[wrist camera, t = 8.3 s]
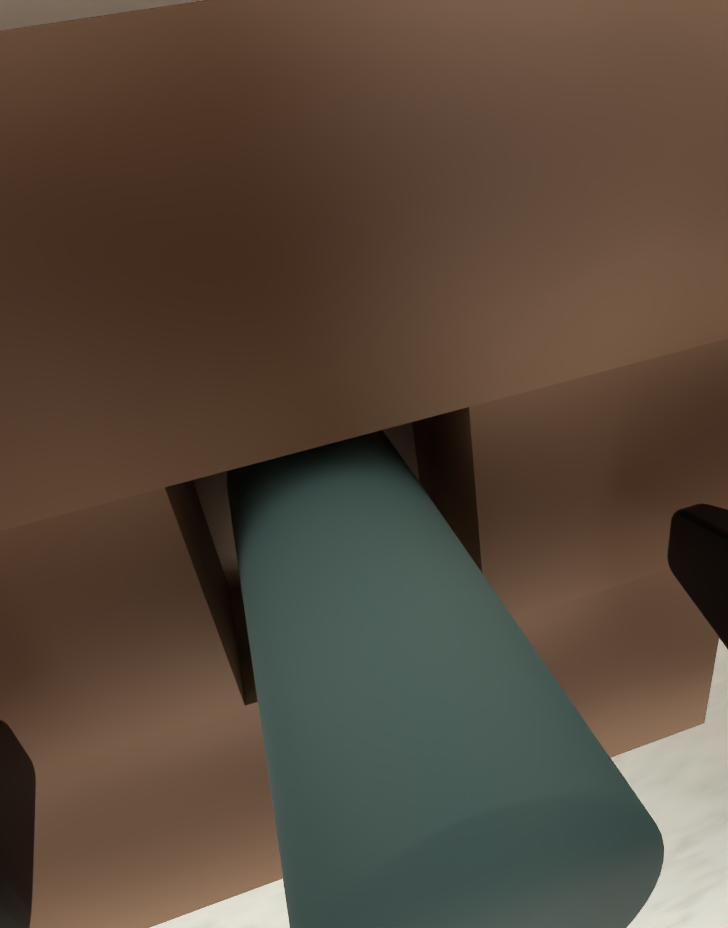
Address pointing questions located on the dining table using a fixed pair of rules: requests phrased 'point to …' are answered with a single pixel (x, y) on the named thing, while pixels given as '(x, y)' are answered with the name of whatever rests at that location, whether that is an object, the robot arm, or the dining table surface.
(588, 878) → the dowel
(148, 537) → the hole block
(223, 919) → the dining table surface
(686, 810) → the dining table surface
